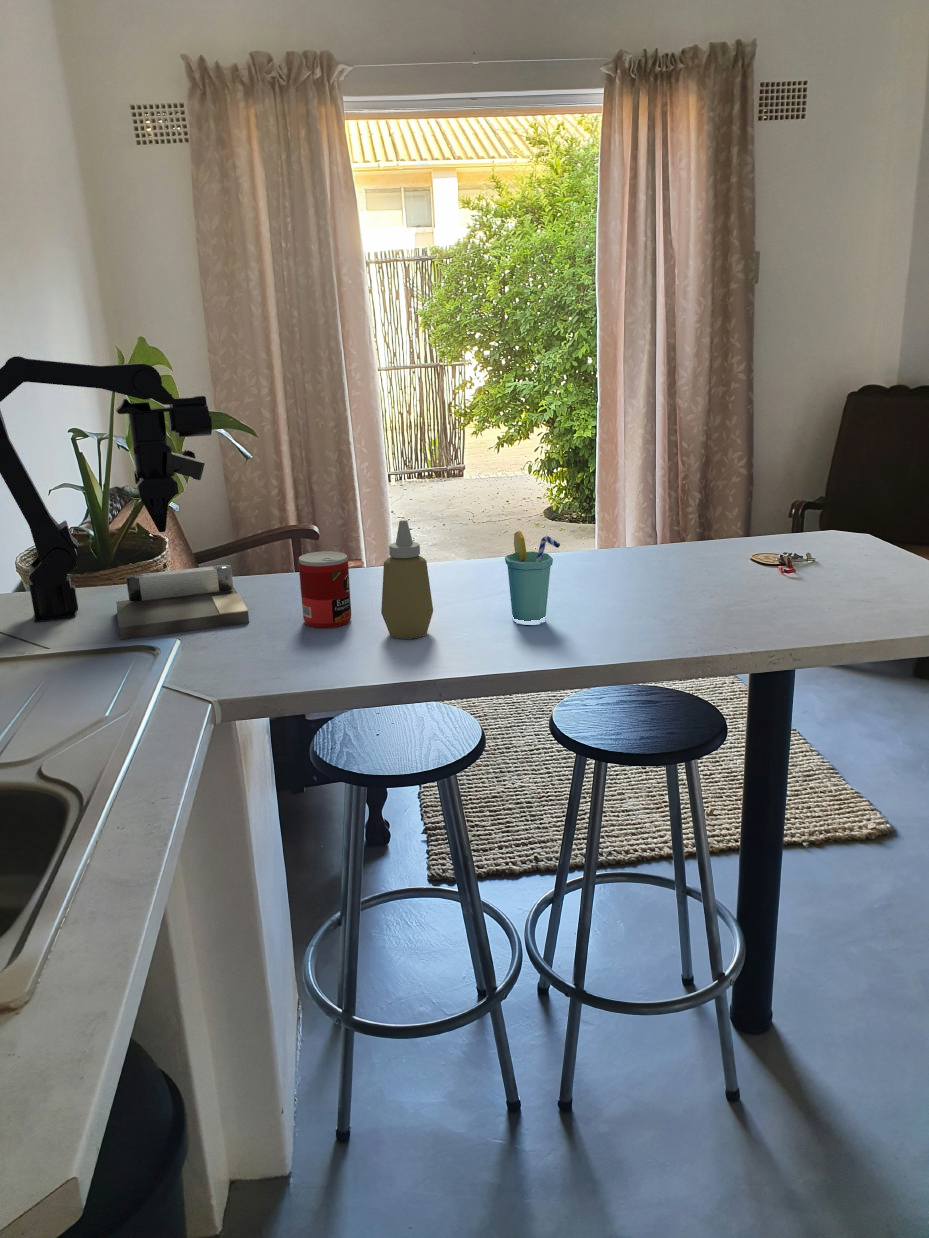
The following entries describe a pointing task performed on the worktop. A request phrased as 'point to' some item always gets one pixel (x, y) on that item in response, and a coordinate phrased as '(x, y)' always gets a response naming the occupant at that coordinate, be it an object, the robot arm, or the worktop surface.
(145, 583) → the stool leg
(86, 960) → the worktop surface
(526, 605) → the cup
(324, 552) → the canned food
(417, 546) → the squeeze bottle
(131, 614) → the wooden board
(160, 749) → the worktop surface
